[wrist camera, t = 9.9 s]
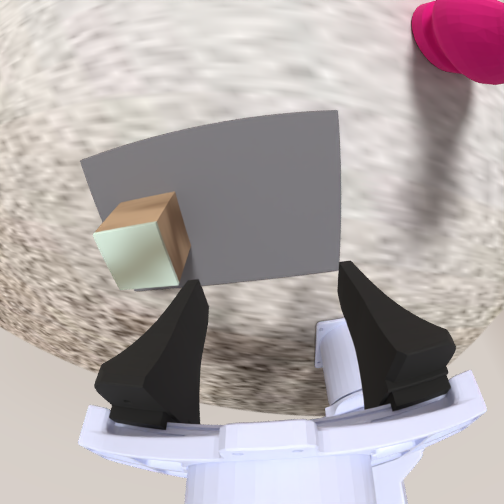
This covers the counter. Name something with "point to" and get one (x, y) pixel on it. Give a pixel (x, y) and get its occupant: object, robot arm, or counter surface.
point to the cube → (145, 242)
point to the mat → (238, 193)
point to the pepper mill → (463, 37)
